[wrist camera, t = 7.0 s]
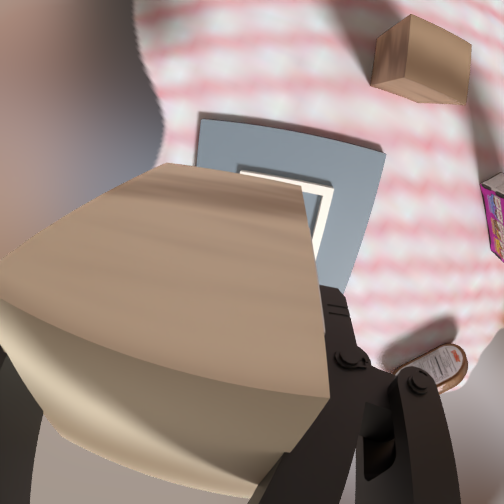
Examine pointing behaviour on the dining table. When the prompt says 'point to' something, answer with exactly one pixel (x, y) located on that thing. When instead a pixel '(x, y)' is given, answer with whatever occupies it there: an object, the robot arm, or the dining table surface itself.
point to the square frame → (309, 188)
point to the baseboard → (307, 169)
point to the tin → (442, 366)
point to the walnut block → (422, 63)
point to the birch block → (174, 325)
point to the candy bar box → (495, 212)
